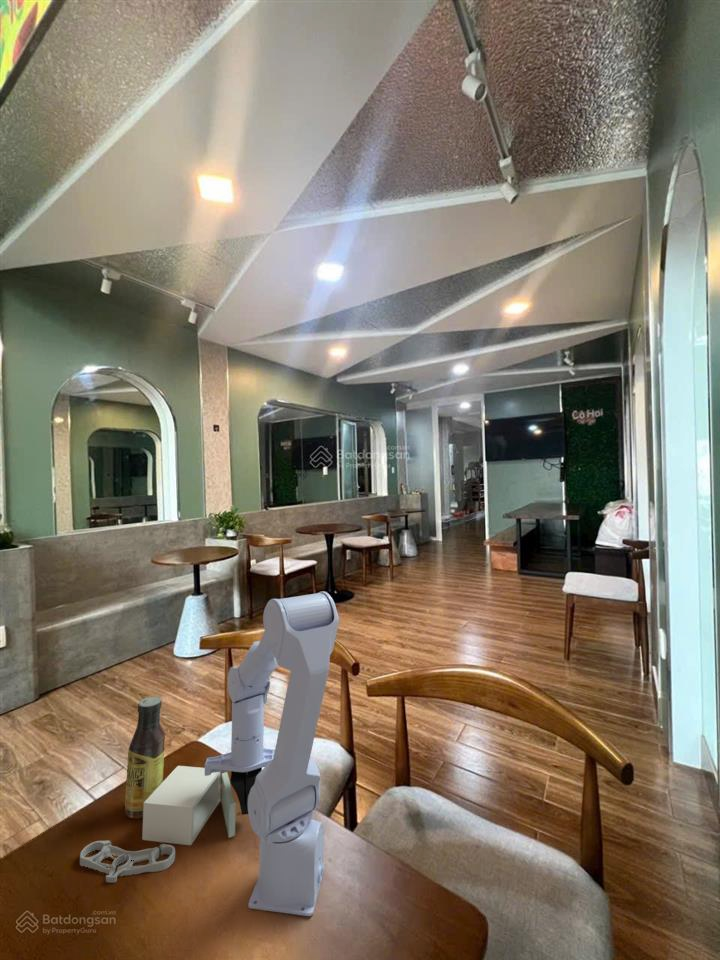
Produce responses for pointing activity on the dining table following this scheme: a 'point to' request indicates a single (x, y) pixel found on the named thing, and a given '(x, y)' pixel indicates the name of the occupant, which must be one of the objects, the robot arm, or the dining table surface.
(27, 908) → the dining table surface
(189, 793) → the cabinet
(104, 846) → the bracket
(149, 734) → the sauce bottle
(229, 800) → the cabinet door
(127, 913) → the dining table surface
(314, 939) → the dining table surface
